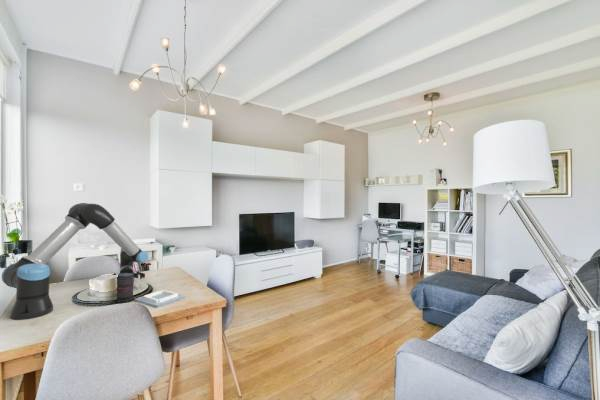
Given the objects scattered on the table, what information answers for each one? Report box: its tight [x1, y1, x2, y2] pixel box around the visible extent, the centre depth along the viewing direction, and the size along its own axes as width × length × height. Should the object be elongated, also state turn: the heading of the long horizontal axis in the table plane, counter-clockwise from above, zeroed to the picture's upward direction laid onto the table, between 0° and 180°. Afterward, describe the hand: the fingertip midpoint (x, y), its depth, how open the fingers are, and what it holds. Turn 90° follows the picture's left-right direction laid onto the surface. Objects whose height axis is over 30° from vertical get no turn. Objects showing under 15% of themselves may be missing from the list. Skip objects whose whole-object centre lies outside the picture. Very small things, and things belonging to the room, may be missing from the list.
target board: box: [134, 289, 186, 309], centre depth 162 cm, size 20×18×3 cm
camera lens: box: [116, 273, 135, 304], centre depth 158 cm, size 8×8×15 cm
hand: (126, 280), depth 166 cm, fingers open, 13 cm apart
